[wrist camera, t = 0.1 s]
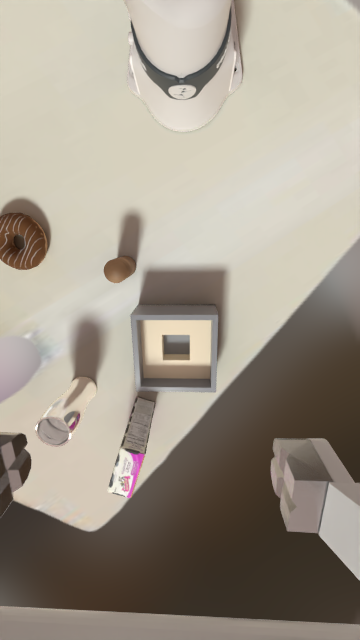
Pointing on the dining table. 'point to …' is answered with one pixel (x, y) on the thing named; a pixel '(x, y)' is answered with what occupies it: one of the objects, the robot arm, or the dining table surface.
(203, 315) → the open-top box
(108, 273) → the peg
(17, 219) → the donut
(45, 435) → the beer glass
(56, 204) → the dining table surface
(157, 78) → the robot arm
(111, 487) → the candy bar box
